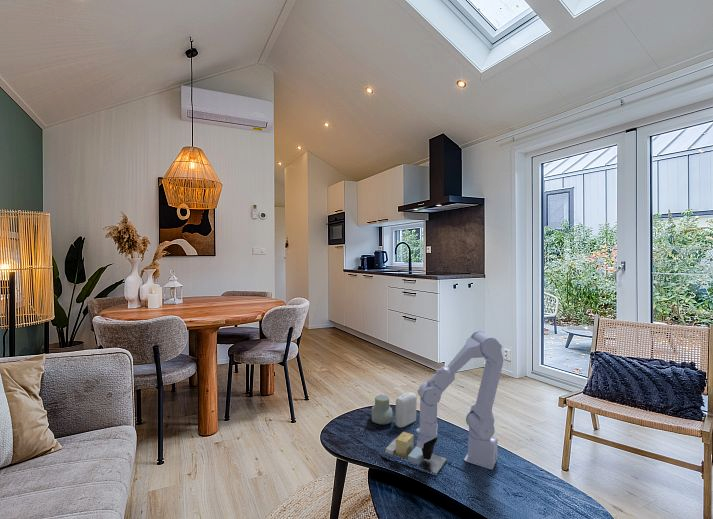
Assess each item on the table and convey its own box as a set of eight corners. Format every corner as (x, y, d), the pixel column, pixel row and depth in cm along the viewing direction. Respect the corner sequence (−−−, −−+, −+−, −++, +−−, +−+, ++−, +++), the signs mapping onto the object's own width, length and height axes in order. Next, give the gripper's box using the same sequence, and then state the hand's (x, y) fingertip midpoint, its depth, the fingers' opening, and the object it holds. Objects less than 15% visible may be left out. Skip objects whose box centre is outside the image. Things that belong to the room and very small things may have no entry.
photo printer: (409, 417, 167) (410, 388, 166) (417, 420, 164) (418, 391, 163) (393, 425, 160) (394, 395, 159) (401, 429, 157) (402, 399, 156)
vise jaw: (427, 453, 138) (427, 448, 138) (418, 465, 131) (419, 459, 131) (417, 450, 140) (417, 444, 140) (407, 461, 134) (408, 455, 133)
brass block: (413, 450, 140) (413, 434, 140) (406, 459, 135) (406, 442, 134) (402, 447, 142) (403, 431, 142) (395, 455, 137) (395, 439, 137)
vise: (446, 461, 136) (446, 452, 136) (436, 476, 127) (436, 467, 127) (394, 444, 146) (394, 436, 146) (381, 457, 138) (381, 449, 137)
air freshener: (371, 414, 169) (371, 392, 168) (390, 415, 169) (391, 392, 168) (372, 427, 158) (372, 403, 157) (392, 428, 158) (393, 403, 157)
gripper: (425, 408, 141) (424, 444, 142) (408, 425, 129) (407, 465, 130) (444, 413, 138) (443, 450, 139) (429, 431, 125) (427, 472, 126)
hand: (427, 458), depth 134 cm, fingers closed, pressing on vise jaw
